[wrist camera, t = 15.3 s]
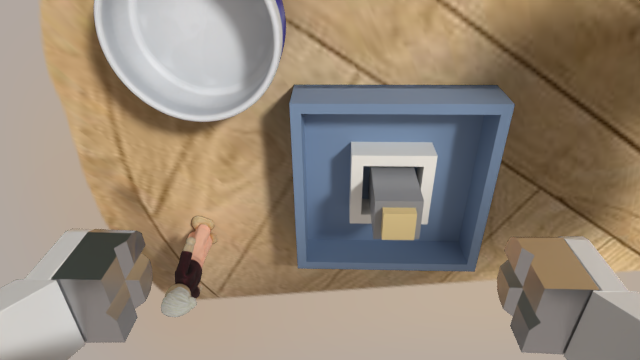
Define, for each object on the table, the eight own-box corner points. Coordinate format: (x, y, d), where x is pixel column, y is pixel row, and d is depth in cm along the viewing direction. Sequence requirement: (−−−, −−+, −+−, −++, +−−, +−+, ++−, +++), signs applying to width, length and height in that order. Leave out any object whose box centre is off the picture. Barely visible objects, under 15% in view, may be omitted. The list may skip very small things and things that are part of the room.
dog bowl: (275, 112, 45) (267, 137, 40) (127, 82, 44) (99, 105, 39) (300, -50, 37) (294, -45, 32) (119, -92, 36) (83, -92, 31)
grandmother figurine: (179, 211, 52) (138, 289, 41) (210, 207, 51) (176, 285, 41) (200, 258, 56) (167, 341, 45) (228, 255, 55) (202, 338, 45)
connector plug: (411, 158, 46) (425, 207, 38) (407, 193, 48) (420, 245, 40) (369, 158, 46) (376, 207, 38) (368, 193, 48) (373, 245, 41)
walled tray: (497, 85, 42) (514, 104, 38) (463, 242, 53) (474, 271, 49) (294, 84, 43) (289, 103, 39) (301, 240, 54) (297, 268, 49)
